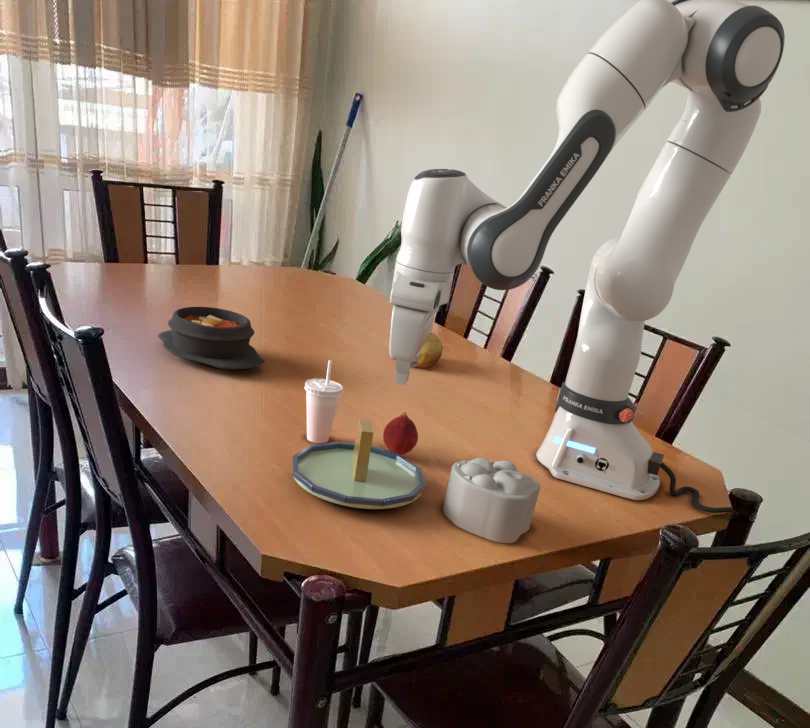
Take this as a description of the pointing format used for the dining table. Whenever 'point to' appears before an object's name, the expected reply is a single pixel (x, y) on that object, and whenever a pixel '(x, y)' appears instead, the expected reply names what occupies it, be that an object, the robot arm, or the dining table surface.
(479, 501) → the lumpy-topped squat cylinder
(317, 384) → the smoothie
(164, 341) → the casserole
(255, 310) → the dining table surface
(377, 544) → the dining table surface
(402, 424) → the onion
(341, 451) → the plate
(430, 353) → the bread roll
